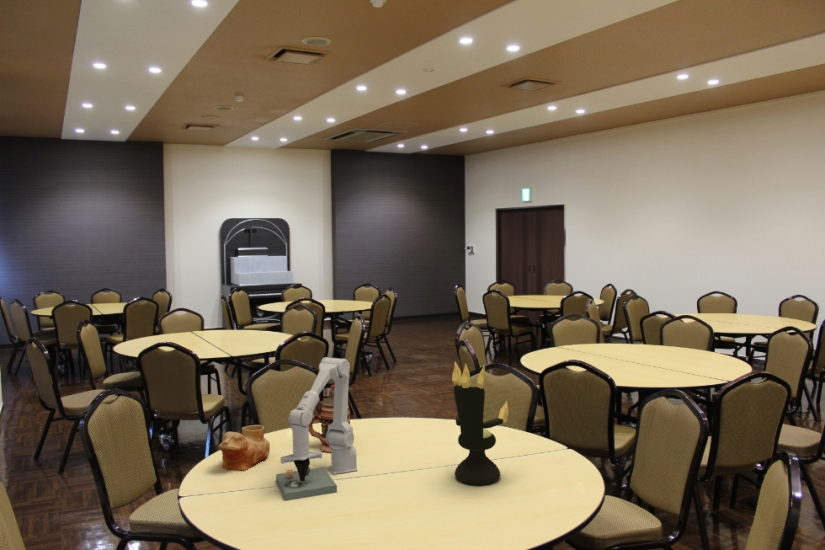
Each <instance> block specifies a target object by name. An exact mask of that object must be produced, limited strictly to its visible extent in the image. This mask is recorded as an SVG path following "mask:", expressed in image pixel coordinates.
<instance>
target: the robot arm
mask: <svg viewBox="0 0 825 550" xmlns="http://www.w3.org/2000/svg"><path fill="white" fill-rule="evenodd" d="M350 367H351V364H350V362H349V361H348V360H347V358H337V357H327V356H325V357H323V358H322V359H321V361H320V363H319V364H318V374H317V375H316V378H315V380H314V382H313V383H312V386H311V389H310V390H308V391H306V392H305V393H304V394H303V396H302V398H301V399H300V401H299V403H298V405H297V406H296V408H294V409H292V410H291V411H290V413H289V415H288V418H287V421H288V423H289V425H290V429H291V430H292V431H291V432H292V434H291V435H292V454H288V455H284V456H280V464H282V465H283V464H285V463H291V462H293V464H294V466H295V468H296V471H298V473H299V477H300V481H305V475H306V472H307V469H308V467H309V468H310V464H311V461H310V460H314V459H323V453H322V451H321V450H320V451H310V433H309V424H310V423H311V421H312V415H313V412H314V411H315V407H316V405H317V403H318V401H320V396H319V395H320V394H321V392H323V390H324V388H325V386H326V385H327V383H328V381H329V380H333V382H334V385H335V388H334V414H333V423H332V424H330V425H329V426H328V432H327V435H326V441H327V443H328V444H329V447H330V448H331V453H330V462H331V463H330V464H331V466H330V465H329V466H328V469H329V471H330V472H331V473H332V474H333V475H337V474H345V473H351V472H352V473H353V472H357V471H358V467H357V466H358V464H357V460H358V459H357V449H356V447H355V445H354V441H355V435H354V428H353V426H352V425H351V423H350V424H349V423H348V422H347V410H348V406H349V381H350V380H349V379H350V369H351V368H350ZM353 445H354V446H353Z"/></svg>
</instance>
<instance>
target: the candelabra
mask: <svg viewBox="0 0 825 550" xmlns="http://www.w3.org/2000/svg"><path fill="white" fill-rule="evenodd" d="M485 366H486V365H485V364H484V365H483V366H482V369H481V370H480V372H479V374H478V377H477V379H476V380H477V381H476V386H470V385H471V381H470V379H471V375H470V371H469V368H468V365H467V363H466V362H465V364H464V367H463V371H461V369H460V367H459V366H458V364H457V362H456V361H454V366H453V371H452V375H451V376H452V378H451V380H452V381H451V382H452V384H453V385H454V386H453V397H454V402H455V406H456V411H457V412H456V413H457V414H456V417H455V425H456V426H457V427H458V426H459V429H460V430H459V431H460V434H459V435H458V436H457V443H458V445H459V446H460V447H461V448H463V449H464V450H468V451H469V452H468V455H467V456H466V457H465V458H464V459H463V460H462V461H461V462H460V463H459V464H458V465H457V467H455V471H454V476H455V478H456V479H457V480H458V481H460V482H461V483H463V484H466V485H472V486H473V485H475V486H482V485H489V484H494V483H495V482H497V481H498V479H499V478H501V471H500V469H499V467H498V465H497V464H495V462H494V461H492V460H491V459H490V458H489V457H488V456H487V455H486V451H487V450H490V449H492V448H494V446H495V445H496V443H497V437H496V436H495V434H493V433H492V432H491V431H490V430H488V429H491V428H494V427H496V426H497V427H498V426H501V425H502V424H503V423H504V424H505V423H507V422H508V416H509V405H508V400H505V403H504V404H503V406H501V408H500V410H499V414H498V417H496V418H493V419H490V420H487V421H484V414H485V413H484V410H485V398H486V391H485V388H484V385H485V380H486V368H485Z"/></svg>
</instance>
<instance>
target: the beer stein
mask: <svg viewBox="0 0 825 550" xmlns="http://www.w3.org/2000/svg"><path fill="white" fill-rule="evenodd" d="M330 388H331V390H329V393H328V397H327V398H325V399H324V400H323V399H322V400H319V401H318V403H317V405H316V407H315V408H314V410H313V415H312V421H311V423H310V424H309V435H310V436H311V437H314V438H317V439H318V440H319V441H320V442H321V445H320V448H321V449H320V451H321V450H323V451H325V452H323V451H321V452H323V453H329V454H331V453H330V452H331V448H330V447H329V444H328V443H327V441H326V435H327V432H328V426H329V425H330V424H332V423H333V414H334V388H335V384H331V385H330ZM350 414H351V411H350V407H349V405H348V410H347V422H348V423H349V424H350V425H351V417H350ZM314 421H320V423H321V424H320V426H321V433H320V432H319V431H316V430H315V429H314V428H313V423H314Z"/></svg>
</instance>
